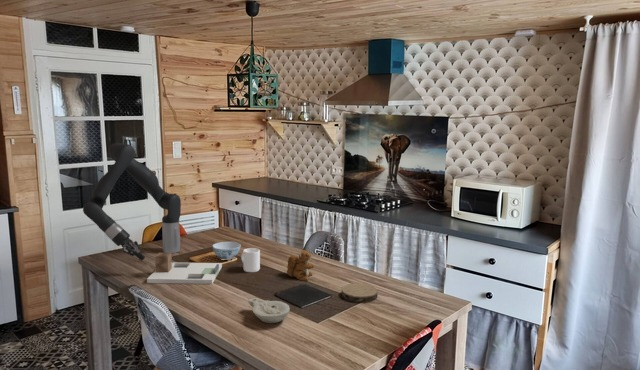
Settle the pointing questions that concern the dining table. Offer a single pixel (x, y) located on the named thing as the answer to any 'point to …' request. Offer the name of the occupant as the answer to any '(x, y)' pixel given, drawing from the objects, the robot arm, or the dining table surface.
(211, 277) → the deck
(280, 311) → the oil lamp
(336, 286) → the dining table surface
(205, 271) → the pad
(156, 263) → the block
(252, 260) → the mug
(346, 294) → the wood slice
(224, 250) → the chinaware
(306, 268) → the stuffed squirrel
